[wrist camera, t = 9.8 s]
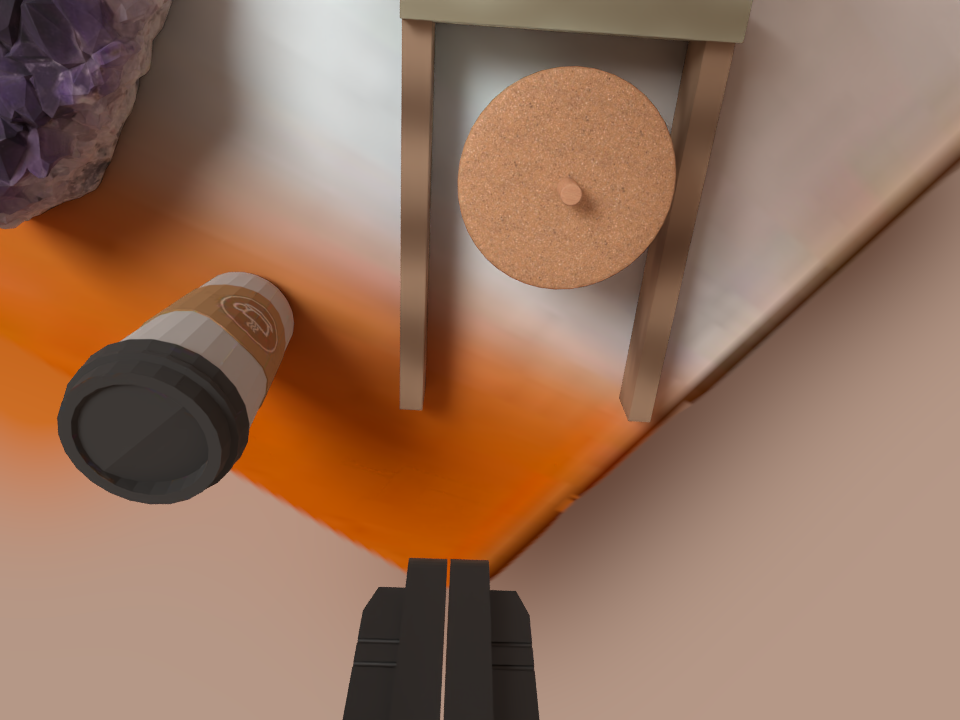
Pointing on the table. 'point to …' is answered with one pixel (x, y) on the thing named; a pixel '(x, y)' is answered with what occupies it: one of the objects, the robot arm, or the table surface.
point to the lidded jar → (566, 177)
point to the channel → (712, 36)
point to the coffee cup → (178, 392)
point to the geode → (66, 94)
